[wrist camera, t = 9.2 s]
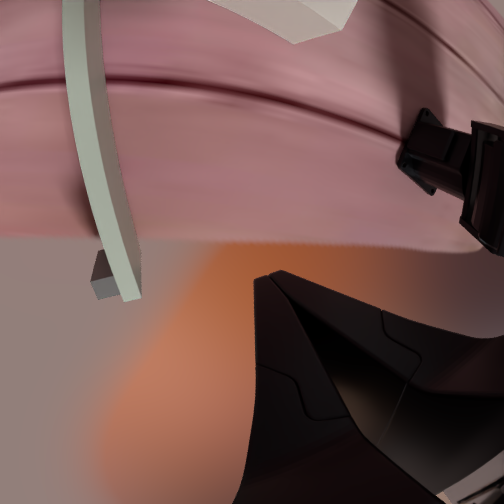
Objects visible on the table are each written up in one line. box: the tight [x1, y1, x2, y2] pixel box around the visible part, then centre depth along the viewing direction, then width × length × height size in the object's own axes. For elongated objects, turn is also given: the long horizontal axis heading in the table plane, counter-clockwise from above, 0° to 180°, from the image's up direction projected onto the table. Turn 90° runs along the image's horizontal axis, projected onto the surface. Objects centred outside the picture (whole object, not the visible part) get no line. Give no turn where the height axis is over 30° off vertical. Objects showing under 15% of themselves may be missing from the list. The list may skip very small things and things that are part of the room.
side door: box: [62, 0, 142, 302], centre depth 12 cm, size 19×3×5 cm, turn 5°
